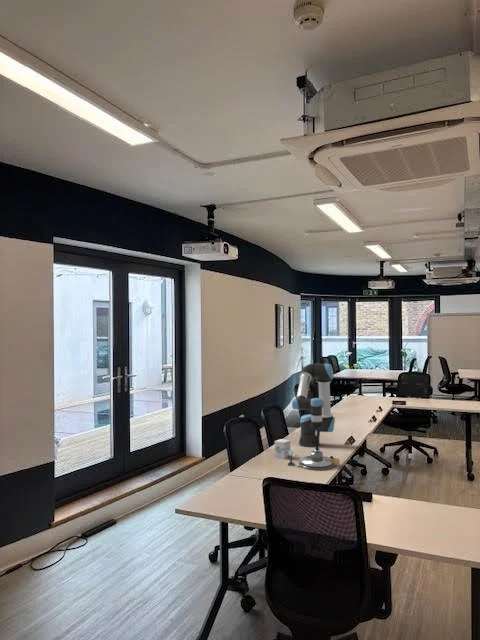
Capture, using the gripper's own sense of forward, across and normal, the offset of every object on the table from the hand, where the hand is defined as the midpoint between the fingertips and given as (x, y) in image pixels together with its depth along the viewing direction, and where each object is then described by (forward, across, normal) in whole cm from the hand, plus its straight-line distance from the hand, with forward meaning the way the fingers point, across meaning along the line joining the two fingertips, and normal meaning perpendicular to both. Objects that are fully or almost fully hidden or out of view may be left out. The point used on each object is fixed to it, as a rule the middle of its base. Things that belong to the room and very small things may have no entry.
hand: (317, 455), depth 324 cm
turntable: (+4, +5, +2) cm, 6 cm away
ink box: (+5, -11, -26) cm, 29 cm away
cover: (+2, +5, 0) cm, 5 cm away
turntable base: (+5, +5, 0) cm, 7 cm away
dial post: (+5, +8, -16) cm, 18 cm away
